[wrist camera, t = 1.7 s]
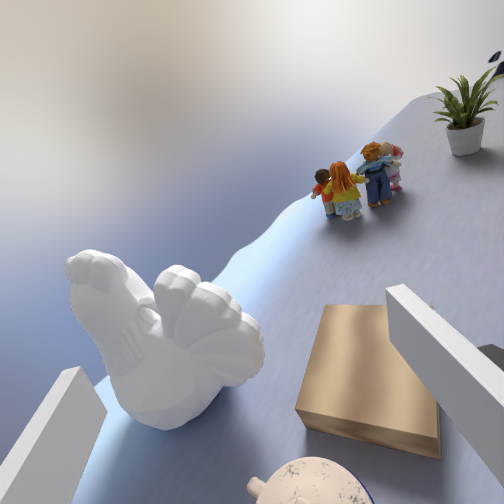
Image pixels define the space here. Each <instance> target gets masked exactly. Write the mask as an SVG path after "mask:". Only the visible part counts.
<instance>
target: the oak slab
mask: <svg viewBox="0 0 504 504" xmlns="http://www.w3.org/2000/svg"><path fill="white" fill-rule="evenodd" d="M429 307H430V308H431V309H433V306H429ZM295 410H296V412H297V413H298V415H299V417H300V418H301V420H302V422H303V424H304V425H305V427H306V428H309V429H313V430H317V431H321V432H326V433H330V434H334V435H338V436H343V437H347V438H351V439H355V440H359V441H364V442H368V443H372V444H376V445H381V446H385V447H389V448H393V449H397V450H402V451H406V452H410V453H414V454H418V455H423V456H427V457H431V458H435V459H440V460H441V443H440V417H439V404H438V402H437V401H436V400H435V398H434V397H433V396H432V395H431V393H430V392H429V391H428V389H427V388H426V387H425V386H424V384H423V383H422V382H421V380H420V379H419V378H418V377H417V375H416V374H415V373H414V371H413V370H412V369H411V368H410V366H409V365H408V364H407V362H406V361H405V360H404V358H403V357H402V356H401V355H400V353H399V352H398V351H397V349H396V348H395V347H394V346H393V344H392V343H391V342H390V340H389V328H388V315H387V305H325V307H324V311H323V314H322V318H321V321H320V324H319V328H318V331H317V335H316V338H315V341H314V345H313V348H312V352H311V355H310V359H309V362H308V365H307V369H306V372H305V376H304V379H303V382H302V386H301V389H300V393H299V396H298V399H297V403H296V406H295Z"/></svg>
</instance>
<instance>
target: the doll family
mask: <svg viewBox="0 0 504 504" xmlns="http://www.w3.org/2000/svg"><path fill="white" fill-rule="evenodd" d="M392 146H393V144H392ZM392 146H391V145H390V144H389V143H388V142H382V143H379V144H378V143H375V142H371V143H370V144H369V145H368V144H367V145H365V147H364V148H363V149H362V151H361V153H360V154H362V153H363V155H364V159H365V160H366V161H365V162H363V165H361V166H360V167H358V168H357V169H356V171H357V173H356V174H350V171H349V170H348V168H347V166H346V164H345V163H344V162H341V161H339V162H337V163H333V164H332V165H331V167H330V171H329V170H326V169H320V170H318V171H317V172H316V175H315V178H316V181H317V182H318V183H319V184H317V185H316V186H315V187H314V188H313V189H312V192H313V194H312V195H311V198H312V199H315V198H316V196H318V195H320V194H322V195H321V196H322V201H323V204H324V207H325V211H326V216H327V217H328V218H333V217H335V214H336V215H343V216H342V219H343V220H346V221H350V220H352V219H353V218H354V217H356V218H357V217H360V216H362V214H361V212H360V211H359V210H360V209H361V208H362V206H361V203H360V201H359V198H360V197H361V195H360V193H359V191H358V189H357V186H356V183H359V184H362V183H363V182H365V183H366V191H367V199H368V205H370V206H372V207H376V206H378V205H379V204H378V201H379V202H380V203H381V204H388V203H389V202H390V201H389V197H391V196H392V192H391V191H399V190H401V189H402V187H401V186H399V181H401V177H400V175H399V172H400V170H399V167H400V166H401V162H398V161H397V160H398V159H400V158H401V157H402V155H403V151H402V150H401V149H400V147H397V146H395V147H394V146H393V147H392ZM389 154H390V155H389ZM388 155H389V156H388ZM378 156H379V157H378ZM364 173H365V177H364V176H359V174H360V175H363V174H364ZM330 177H331V178H332V179H330V180H329V178H330ZM390 182H392V183H393V185H391V186H390ZM350 213H351V214H350Z"/></svg>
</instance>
